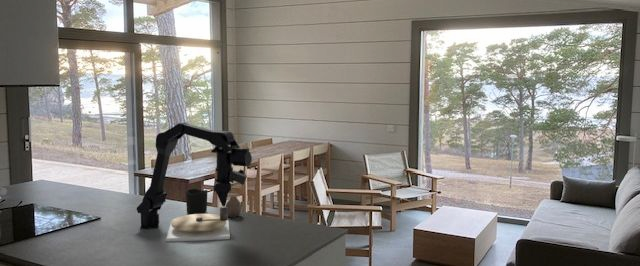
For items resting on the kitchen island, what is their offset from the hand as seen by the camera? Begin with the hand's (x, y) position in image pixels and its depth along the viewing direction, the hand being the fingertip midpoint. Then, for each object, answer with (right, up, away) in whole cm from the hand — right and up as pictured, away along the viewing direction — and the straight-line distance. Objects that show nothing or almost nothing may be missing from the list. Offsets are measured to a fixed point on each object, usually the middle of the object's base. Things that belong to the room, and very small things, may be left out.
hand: (224, 205), depth 199 cm
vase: (-1, -9, +30) cm, 32 cm away
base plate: (-11, -11, +6) cm, 17 cm away
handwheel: (-11, -10, +6) cm, 16 cm away
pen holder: (-19, -8, +35) cm, 41 cm away
